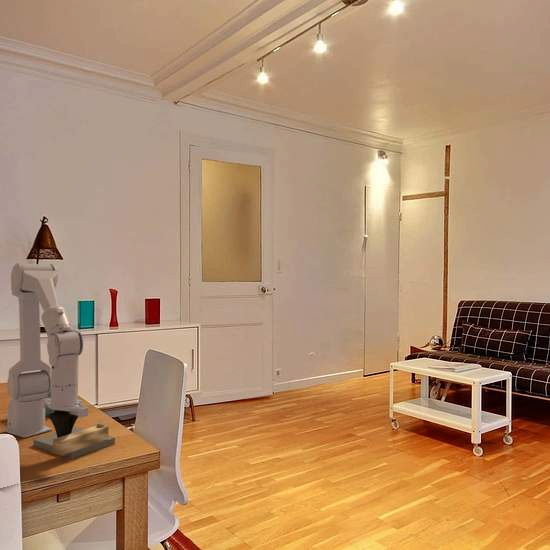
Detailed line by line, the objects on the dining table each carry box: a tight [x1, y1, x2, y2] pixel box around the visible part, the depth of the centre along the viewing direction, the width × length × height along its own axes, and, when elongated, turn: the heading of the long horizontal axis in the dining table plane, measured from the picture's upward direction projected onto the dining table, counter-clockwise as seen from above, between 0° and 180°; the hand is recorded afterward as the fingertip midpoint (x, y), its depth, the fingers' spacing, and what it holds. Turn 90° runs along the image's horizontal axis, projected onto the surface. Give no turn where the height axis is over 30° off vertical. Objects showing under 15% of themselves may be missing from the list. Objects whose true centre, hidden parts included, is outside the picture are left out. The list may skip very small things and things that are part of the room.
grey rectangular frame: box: [32, 426, 116, 460], centre depth 123 cm, size 15×12×2 cm
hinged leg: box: [52, 422, 109, 456], centre depth 117 cm, size 13×3×4 cm, turn 149°
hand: (64, 443), depth 116 cm, fingers closed
